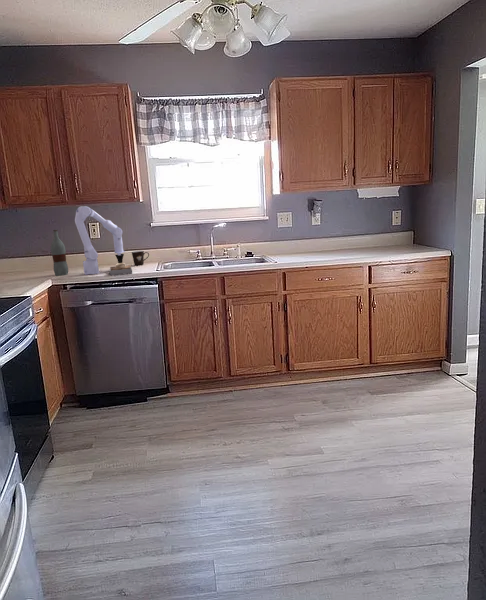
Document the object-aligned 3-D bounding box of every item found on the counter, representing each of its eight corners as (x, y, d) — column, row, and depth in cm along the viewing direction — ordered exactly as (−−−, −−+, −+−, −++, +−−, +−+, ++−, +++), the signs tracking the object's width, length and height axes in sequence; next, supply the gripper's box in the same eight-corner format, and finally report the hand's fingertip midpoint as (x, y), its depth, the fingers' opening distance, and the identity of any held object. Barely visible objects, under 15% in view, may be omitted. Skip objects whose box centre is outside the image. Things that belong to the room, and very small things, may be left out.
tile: (116, 268, 310) (115, 264, 309) (116, 267, 315) (115, 263, 315) (125, 267, 311) (124, 263, 310) (125, 266, 317) (124, 262, 316)
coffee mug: (131, 266, 334) (130, 252, 332) (134, 264, 342) (133, 250, 340) (147, 265, 333) (146, 251, 331) (150, 263, 342) (148, 250, 339)
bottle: (61, 273, 318) (55, 229, 312) (72, 273, 315) (65, 228, 308) (51, 275, 310) (44, 230, 303) (62, 275, 306) (55, 230, 300)
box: (109, 275, 297) (109, 270, 296) (110, 273, 307) (109, 268, 306) (132, 273, 300) (131, 268, 299) (131, 271, 310) (131, 266, 309)
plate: (110, 273, 307) (109, 269, 307) (110, 270, 319) (110, 266, 318) (131, 271, 310) (131, 267, 310) (131, 268, 322) (131, 265, 321)
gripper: (124, 245, 310) (126, 265, 313) (124, 243, 324) (126, 262, 327) (113, 246, 309) (115, 266, 312) (113, 244, 322) (116, 263, 325)
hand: (120, 264), depth 319 cm, fingers closed
